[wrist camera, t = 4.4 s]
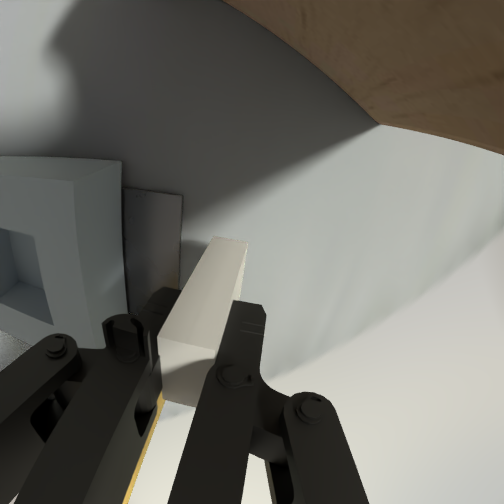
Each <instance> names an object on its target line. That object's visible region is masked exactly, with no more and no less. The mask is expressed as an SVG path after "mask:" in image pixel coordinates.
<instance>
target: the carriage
mask: <svg viewBox="0 0 504 504" xmlns="http://www.w3.org/2000/svg"><path fill="white" fill-rule="evenodd" d="M121 170H122V161H114V160H100V159H84V158H65V157H34V156H0V330H2V331H4V332H5V333H7V334H9V335H11V336H13V337H15V338H17V339H19V340H21V341H23V342H25V343H27V344H29V345H32V346H34V345H35V344H36V343H38V342H39V341H40V340H41V339H43V338H45V337H46V336H48V335H51V334H56V333H62V334H67V335H69V336H71V337H73V339H74V340H75V341H76V343H77V346H78V348H90V349H104V348H105V347H106V344H105V339H104V334H103V329H102V324H101V323H102V322H103V321H105V320H106V319H107V318H109V317H111V316H114V315H117V314H128V310H127V301H126V291H125V279H124V266H123V249H122V223H121Z"/></svg>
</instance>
